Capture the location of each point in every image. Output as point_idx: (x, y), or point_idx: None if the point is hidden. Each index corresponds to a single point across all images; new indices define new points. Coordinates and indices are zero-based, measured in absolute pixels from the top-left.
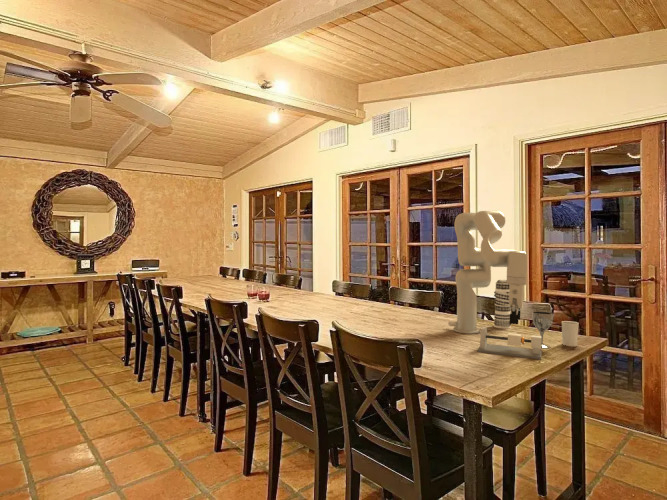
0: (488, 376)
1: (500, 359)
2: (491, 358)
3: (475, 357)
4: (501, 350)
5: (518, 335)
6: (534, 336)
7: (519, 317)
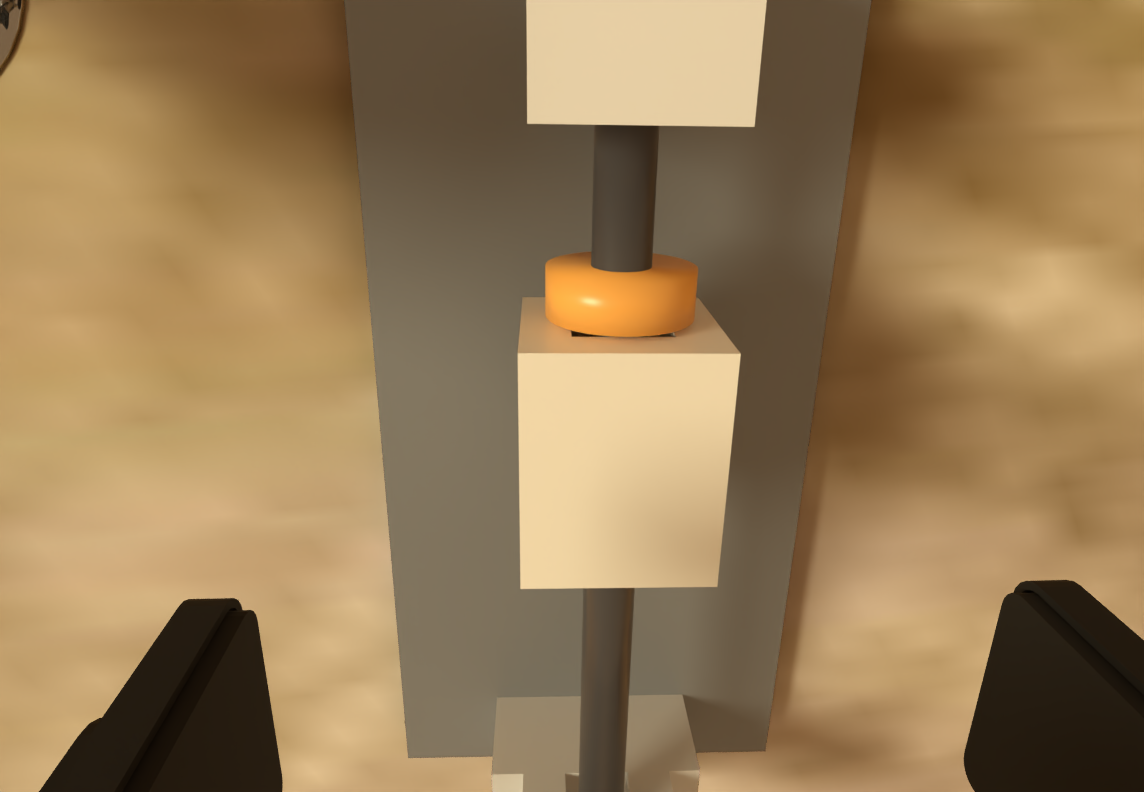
0: None
1: (1023, 475)
2: (1006, 567)
3: None
4: None
5: (664, 406)
6: (669, 49)
7: (227, 663)
